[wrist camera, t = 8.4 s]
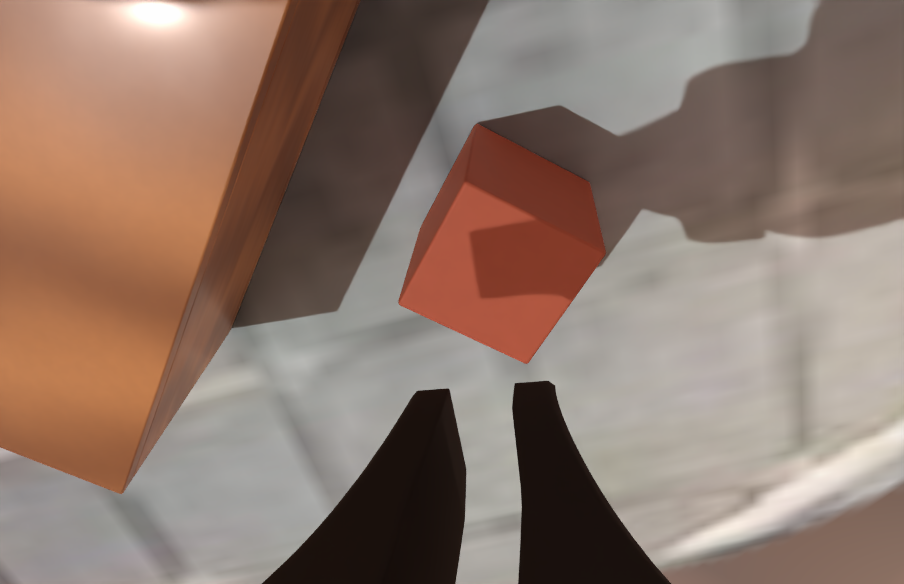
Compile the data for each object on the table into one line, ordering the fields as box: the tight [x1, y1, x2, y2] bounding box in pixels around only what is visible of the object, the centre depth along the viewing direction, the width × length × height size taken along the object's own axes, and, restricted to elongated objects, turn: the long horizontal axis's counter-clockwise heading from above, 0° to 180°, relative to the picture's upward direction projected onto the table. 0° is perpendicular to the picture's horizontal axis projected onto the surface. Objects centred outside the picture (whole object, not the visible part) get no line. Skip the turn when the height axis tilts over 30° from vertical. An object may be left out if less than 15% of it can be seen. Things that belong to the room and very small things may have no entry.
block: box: [398, 124, 606, 364], centre depth 20 cm, size 4×4×5 cm
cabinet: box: [0, 0, 361, 494], centre depth 17 cm, size 14×12×8 cm
